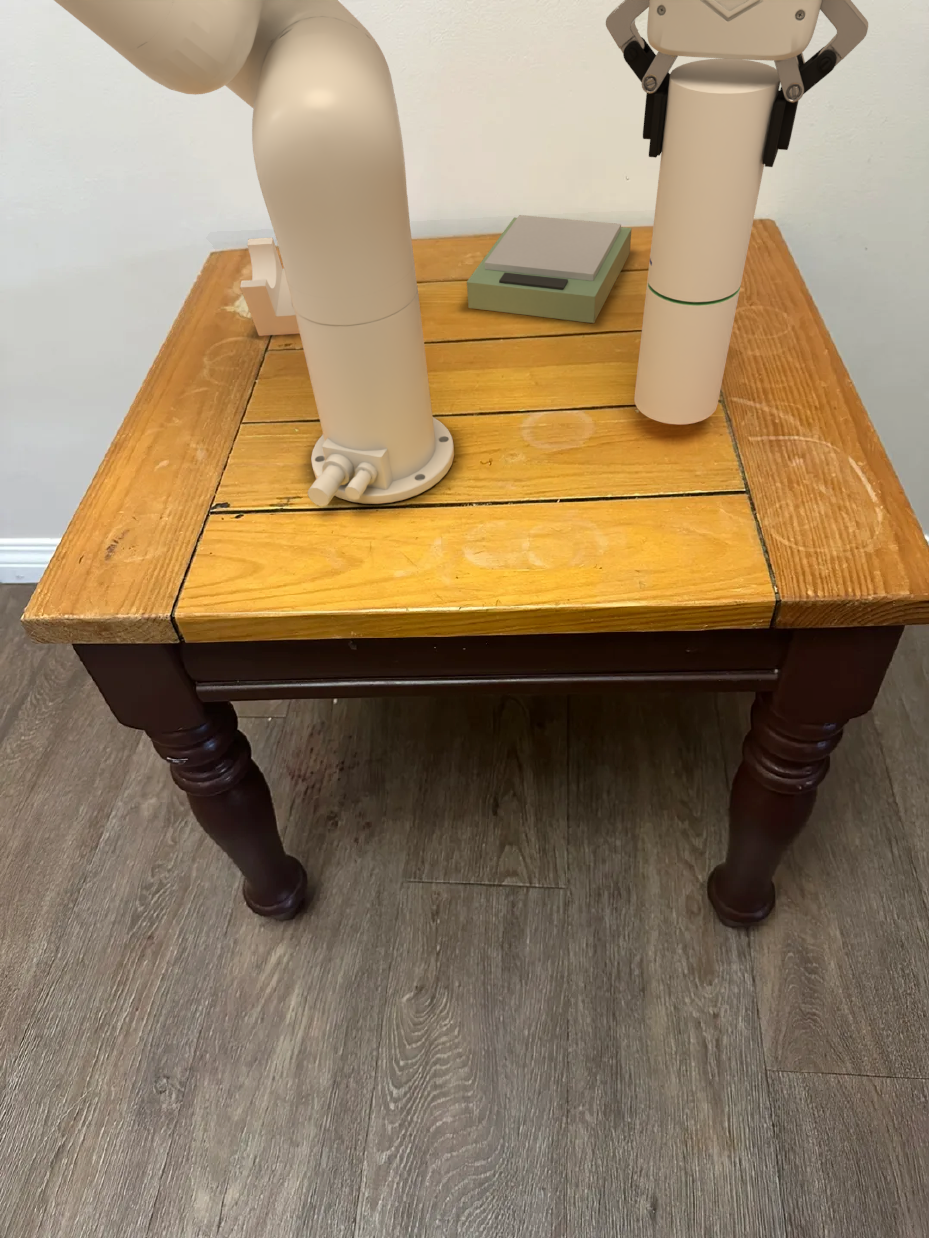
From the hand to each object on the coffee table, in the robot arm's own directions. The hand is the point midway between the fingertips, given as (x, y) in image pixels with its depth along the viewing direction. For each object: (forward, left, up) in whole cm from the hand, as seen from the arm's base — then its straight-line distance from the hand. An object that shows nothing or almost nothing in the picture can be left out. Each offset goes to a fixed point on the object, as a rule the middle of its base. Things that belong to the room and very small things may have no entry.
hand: (713, 153), depth 60 cm
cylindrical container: (0, 0, -20) cm, 20 cm away
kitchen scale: (+23, +19, -23) cm, 38 cm away
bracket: (+9, +41, -23) cm, 48 cm away
